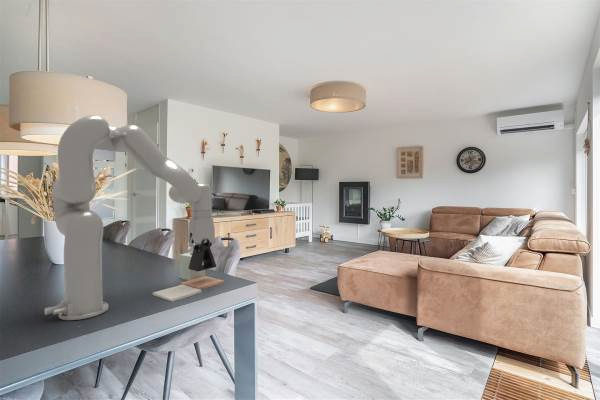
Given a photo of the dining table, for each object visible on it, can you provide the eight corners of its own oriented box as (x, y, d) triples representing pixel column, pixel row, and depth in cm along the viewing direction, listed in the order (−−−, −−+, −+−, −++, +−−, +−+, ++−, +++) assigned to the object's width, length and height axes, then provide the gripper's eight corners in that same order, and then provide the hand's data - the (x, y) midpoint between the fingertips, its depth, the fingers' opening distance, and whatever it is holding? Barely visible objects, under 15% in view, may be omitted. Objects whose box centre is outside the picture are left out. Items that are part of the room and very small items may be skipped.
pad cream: (171, 301, 105) (171, 299, 105) (152, 294, 112) (152, 292, 112) (201, 292, 115) (201, 290, 115) (182, 286, 122) (182, 284, 122)
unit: (190, 280, 130) (190, 255, 129) (179, 277, 134) (179, 253, 134) (205, 277, 136) (205, 252, 135) (194, 274, 140) (194, 250, 140)
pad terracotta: (199, 290, 118) (199, 288, 118) (180, 284, 125) (180, 282, 125) (224, 282, 127) (224, 280, 127) (205, 277, 134) (205, 275, 134)
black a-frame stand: (197, 271, 121) (196, 240, 120) (188, 269, 124) (187, 239, 124) (216, 266, 128) (215, 237, 127) (207, 264, 132) (207, 236, 131)
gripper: (211, 213, 134) (212, 256, 134) (178, 215, 121) (179, 263, 122) (223, 213, 129) (224, 258, 130) (190, 216, 117) (191, 266, 117)
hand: (202, 260), depth 126 cm, fingers closed on black a-frame stand
